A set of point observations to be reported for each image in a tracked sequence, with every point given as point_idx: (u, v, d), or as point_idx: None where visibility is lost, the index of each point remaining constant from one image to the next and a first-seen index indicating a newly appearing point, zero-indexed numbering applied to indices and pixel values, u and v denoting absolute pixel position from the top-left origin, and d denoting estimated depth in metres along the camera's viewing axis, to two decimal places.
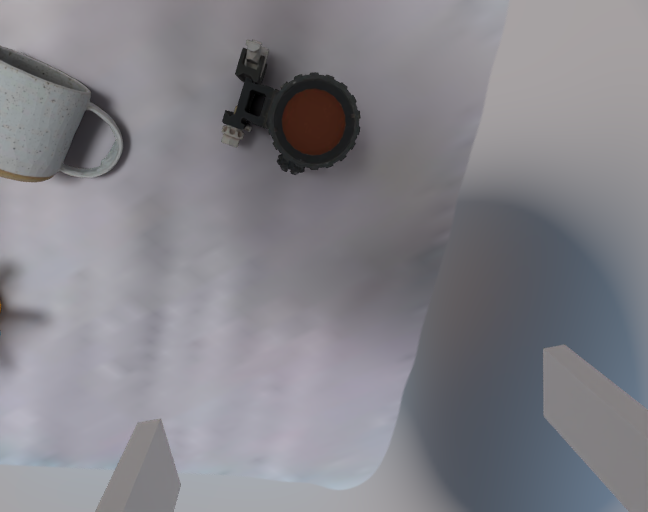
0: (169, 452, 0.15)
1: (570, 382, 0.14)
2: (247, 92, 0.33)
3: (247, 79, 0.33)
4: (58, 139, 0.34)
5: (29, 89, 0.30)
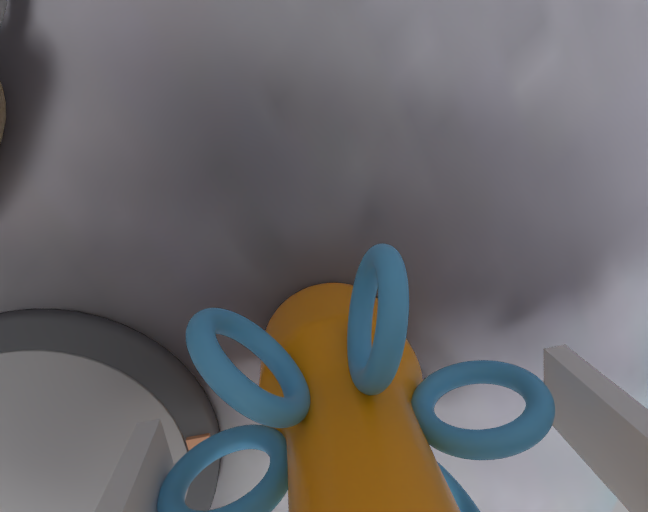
0: (168, 452, 0.15)
1: (570, 382, 0.14)
2: None
3: None
4: None
5: None
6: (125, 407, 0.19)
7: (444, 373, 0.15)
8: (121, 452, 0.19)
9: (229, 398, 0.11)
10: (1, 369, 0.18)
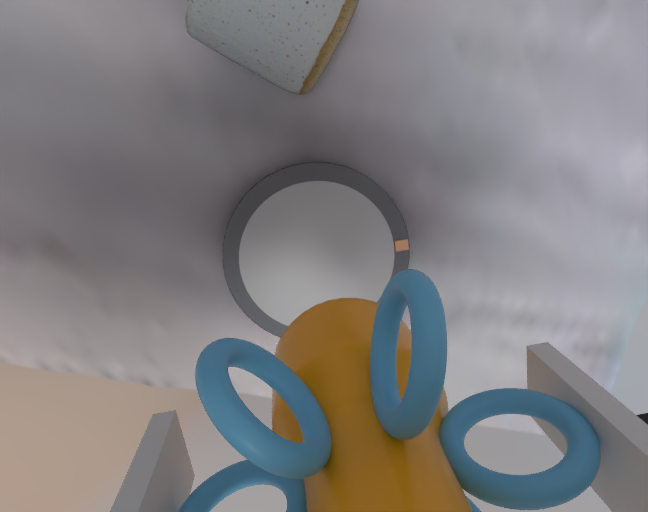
0: (183, 443, 0.15)
1: (551, 379, 0.14)
2: None
3: None
4: None
5: None
6: (365, 218, 0.33)
7: (473, 403, 0.14)
8: (358, 247, 0.34)
9: (246, 452, 0.10)
10: (305, 191, 0.32)
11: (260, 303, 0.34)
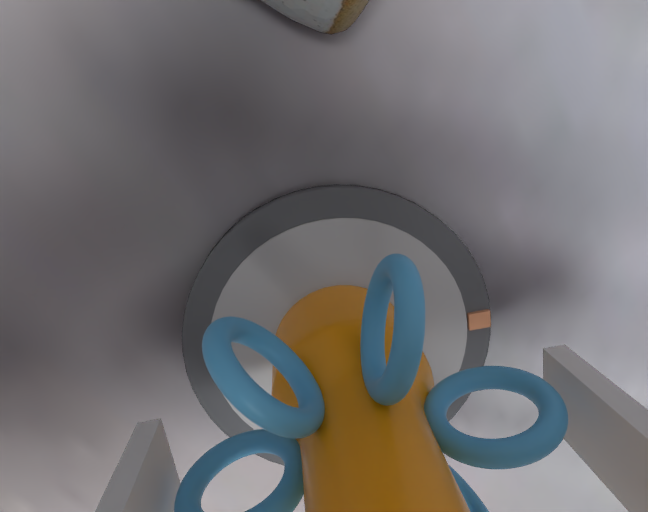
0: (169, 452, 0.15)
1: (570, 382, 0.14)
2: None
3: None
4: None
5: None
6: (422, 278, 0.20)
7: (456, 379, 0.15)
8: None
9: (247, 411, 0.11)
10: (321, 235, 0.19)
11: None
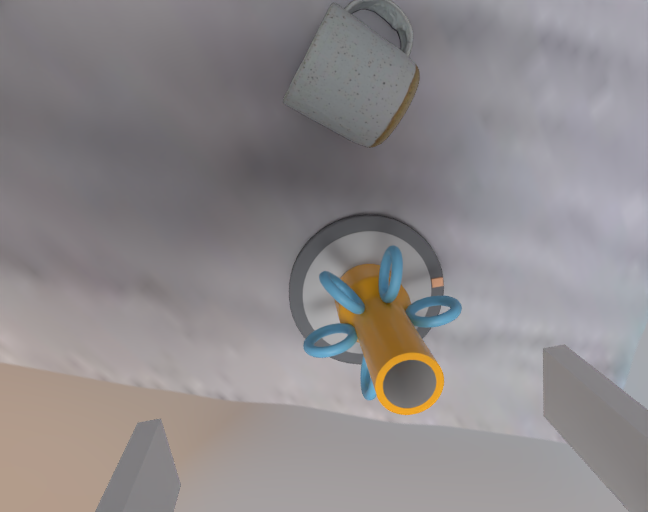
0: (169, 452, 0.15)
1: (570, 382, 0.14)
2: None
3: None
4: (378, 35, 0.32)
5: (335, 30, 0.29)
6: (407, 260, 0.40)
7: (420, 301, 0.35)
8: None
9: (340, 299, 0.31)
10: (358, 239, 0.39)
11: None
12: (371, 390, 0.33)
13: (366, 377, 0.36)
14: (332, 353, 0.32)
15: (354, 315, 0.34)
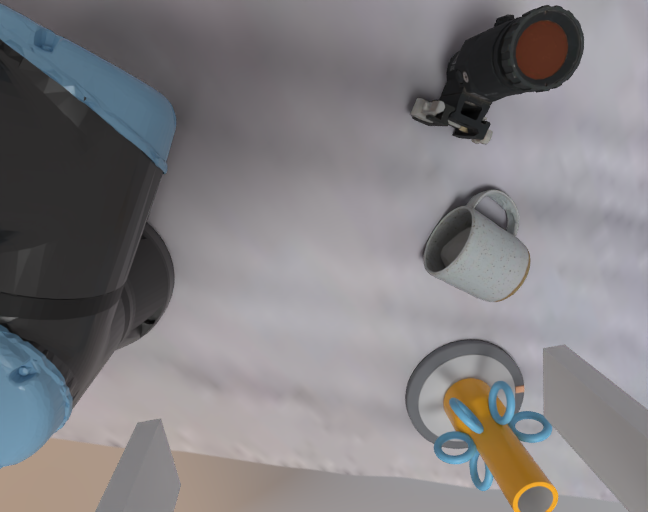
0: (169, 452, 0.15)
1: (570, 382, 0.14)
2: (462, 116, 0.40)
3: (452, 115, 0.40)
4: (502, 230, 0.44)
5: (479, 238, 0.41)
6: (499, 374, 0.52)
7: (517, 415, 0.48)
8: None
9: (470, 426, 0.44)
10: (463, 361, 0.51)
11: (429, 426, 0.54)
12: (486, 486, 0.46)
13: (475, 470, 0.49)
14: (461, 462, 0.45)
15: None
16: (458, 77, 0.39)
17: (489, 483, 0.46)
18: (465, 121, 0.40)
